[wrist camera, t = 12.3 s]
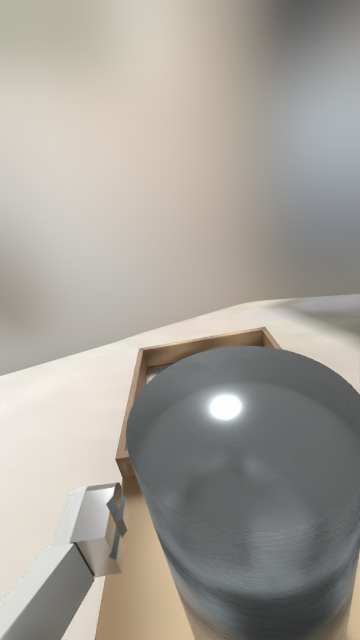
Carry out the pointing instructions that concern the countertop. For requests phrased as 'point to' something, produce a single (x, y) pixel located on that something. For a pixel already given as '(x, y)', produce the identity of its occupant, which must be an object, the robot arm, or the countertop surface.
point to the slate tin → (253, 490)
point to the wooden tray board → (141, 538)
